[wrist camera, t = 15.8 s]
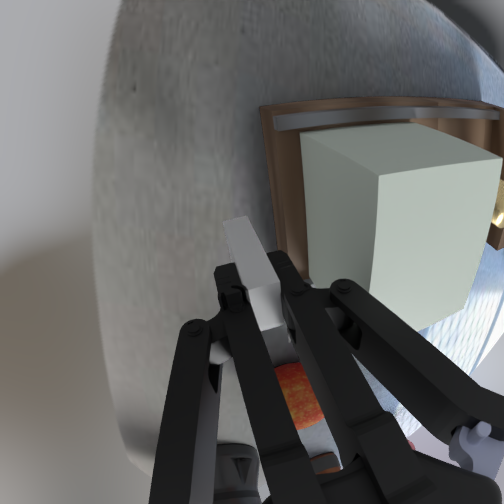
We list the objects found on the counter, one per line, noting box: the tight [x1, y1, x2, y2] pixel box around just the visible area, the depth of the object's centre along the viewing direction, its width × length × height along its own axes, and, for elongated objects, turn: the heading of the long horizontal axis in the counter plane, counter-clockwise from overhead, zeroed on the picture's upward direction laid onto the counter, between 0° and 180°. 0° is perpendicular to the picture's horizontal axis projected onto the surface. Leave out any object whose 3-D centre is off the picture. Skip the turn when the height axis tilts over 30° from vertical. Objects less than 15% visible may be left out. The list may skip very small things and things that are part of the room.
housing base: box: [259, 96, 504, 288], centre depth 22 cm, size 24×14×6 cm, turn 98°
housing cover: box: [300, 122, 503, 332], centre depth 18 cm, size 9×11×8 cm
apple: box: [274, 363, 324, 430], centre depth 32 cm, size 8×8×8 cm
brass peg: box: [491, 179, 504, 228], centre depth 21 cm, size 4×4×8 cm
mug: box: [310, 453, 341, 474], centre depth 58 cm, size 9×12×12 cm
